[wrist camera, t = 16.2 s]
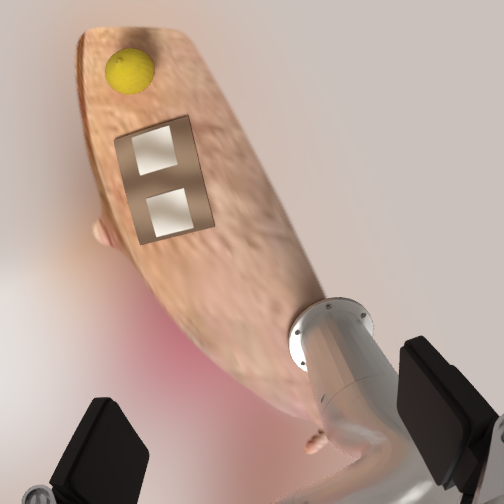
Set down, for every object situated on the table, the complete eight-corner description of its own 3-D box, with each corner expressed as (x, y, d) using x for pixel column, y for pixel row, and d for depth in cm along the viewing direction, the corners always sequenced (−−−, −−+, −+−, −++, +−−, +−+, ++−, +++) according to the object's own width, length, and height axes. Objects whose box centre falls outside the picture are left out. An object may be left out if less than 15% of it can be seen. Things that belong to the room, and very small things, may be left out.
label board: (214, 226, 38) (214, 227, 37) (140, 244, 38) (139, 245, 38) (188, 116, 34) (187, 115, 33) (114, 140, 34) (113, 140, 34)
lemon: (134, 56, 31) (111, 34, 24) (169, 68, 32) (151, 46, 24) (113, 92, 32) (85, 78, 25) (148, 106, 33) (124, 92, 26)
